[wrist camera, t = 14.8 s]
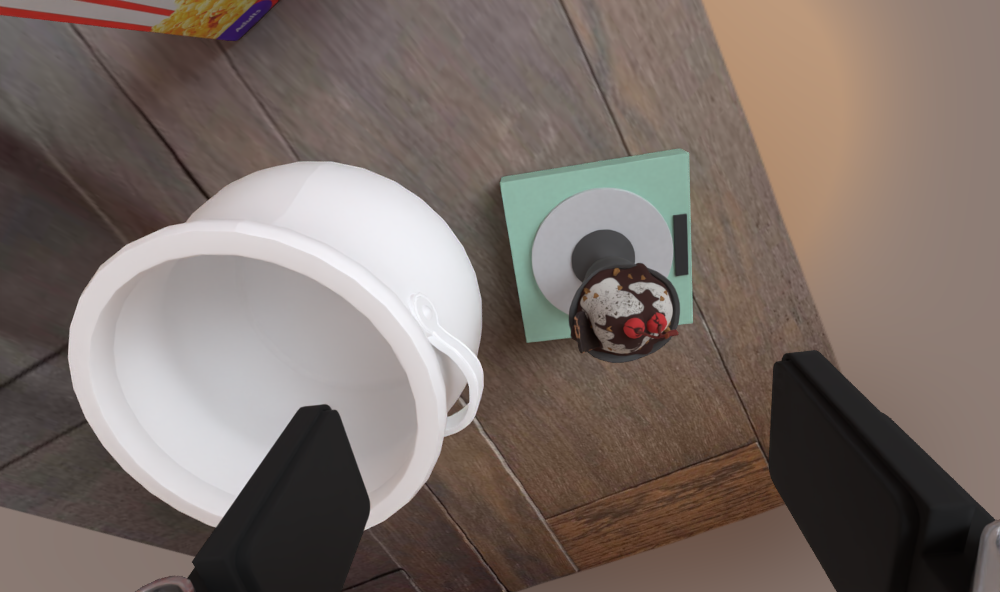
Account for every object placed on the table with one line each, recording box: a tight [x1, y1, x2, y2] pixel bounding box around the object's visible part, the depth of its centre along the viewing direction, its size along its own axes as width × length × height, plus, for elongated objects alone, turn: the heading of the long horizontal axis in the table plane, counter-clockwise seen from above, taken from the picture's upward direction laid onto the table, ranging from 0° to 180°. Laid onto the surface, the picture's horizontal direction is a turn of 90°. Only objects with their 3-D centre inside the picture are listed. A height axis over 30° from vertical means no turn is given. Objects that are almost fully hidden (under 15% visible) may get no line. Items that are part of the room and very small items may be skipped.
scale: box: [500, 149, 693, 343], centre depth 41 cm, size 14×14×3 cm
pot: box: [68, 161, 484, 530], centre depth 38 cm, size 26×24×18 cm
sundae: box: [569, 229, 680, 363], centre depth 33 cm, size 7×7×15 cm
